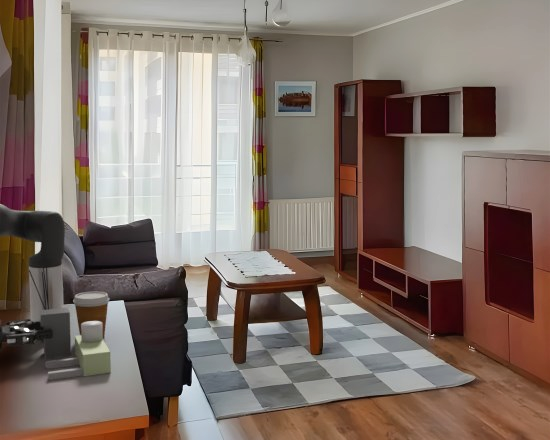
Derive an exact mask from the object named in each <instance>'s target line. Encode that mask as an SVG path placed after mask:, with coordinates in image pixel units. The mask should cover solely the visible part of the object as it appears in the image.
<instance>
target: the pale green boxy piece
mask: <svg viewBox="0 0 550 440" xmlns="http://www.w3.org/2000/svg"><path fill="white" fill-rule="evenodd" d="M74 350H75V351H74V352H75V354H74V356H75V357H71V358H63V359H55V360H46V361H45V370H49V369H50V370H52V369H56V368H57V369H58V368H65V367H73V366H79V367H74V368H68V369H60V370H54V371H47V378H48V380H49V381H53V380H59V379H60V380H61V379H67V378H74V377H75V378H76V377H81V376H83V377H87V376H88V377H89V376H95V375H96V376H97V375H103V374H104V375H105V374H110V373H112V372H111V371H112V370H111V369H112V368H111V366H112V365H111V362H112V361H111V350H110V349H109V347H108V345H107V343H106V342H105V340H104V338H103V327H102V322H100V321H88V322H84V323H82V324H81V335H80V334H79V335H78V334H77V335H74Z"/></svg>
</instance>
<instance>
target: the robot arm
mask: <svg viewBox="0 0 550 440" xmlns="http://www.w3.org/2000/svg"><path fill="white" fill-rule="evenodd" d="M65 228H66V226H65V221H64V217H62V215H61V214H60V213H59V212H57V211H51V210H49V211H48V210H15V209H11V208H9V207H7V206H6V205H4V204H1V203H0V237H5V236H7V237H9V236H10V237H15V238H18V239H22V240H24V241H30V242H34V243H40V250H39V251H38V252H37V253H34V254H32V255H30V256H29V257H28V275H29V276H28V279H29V280H28V282H29V308H30V309H29V311H30V318H28V319H20V320H10V321H6V322H5V325H3V326H2V320H1V319H0V351H1V350H2V349H3V343H6V346H7V347H15V346H25V345H26V346H27V345H34V344H35V342H37V341H40V340H41V341H42V340H43V341H44V339H51V338H53V330H52V329H46V330H43V327H41V325H40V319H39V310H45V309H46V308H45V309H44V307H43V304H44V306H45V298H46V307H47V310H48V305H47V297H46V289H47V278H48V301H49V309H59V308H64V287H63V286H64V285H63V284H64V283H63V282H64V280H63V278H64V277H63V257H64V255H65V235H66V233H65V230H66V229H65ZM46 266H47V278H46ZM43 268H44V273H45V281H46V289H45V298H44V289H43V279H42V272H43ZM29 270H30V272H31V274H32V277H33V279H34V282H35V284H36V287H37V289H38V292H39V294H40V297H41V299H42V301H43V304H42V302H41V299H40V297H39V294H38V292H37V290H36V287H35V285H34V282H33V280H32V277H31V275H30V272H29ZM44 273H43V278H44ZM45 281H44V288H45Z"/></svg>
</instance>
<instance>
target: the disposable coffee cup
mask: <svg viewBox="0 0 550 440" xmlns="http://www.w3.org/2000/svg"><path fill="white" fill-rule="evenodd" d="M72 302H73V304H74V306H75V312H76V313H75V314H76V319H77V325H78V331H79V335H81V324H82V323H84V322H88V321H100V322H102V327H103V339H105V333H106V332H105V331H106V325H107V323H106V322H107V314H108V307H109V305H108V304H109V302H110V297H109V295H108V293H107V292H104V291H86V292H80V293H77V294H75V295H74V298H73V300H72Z"/></svg>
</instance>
